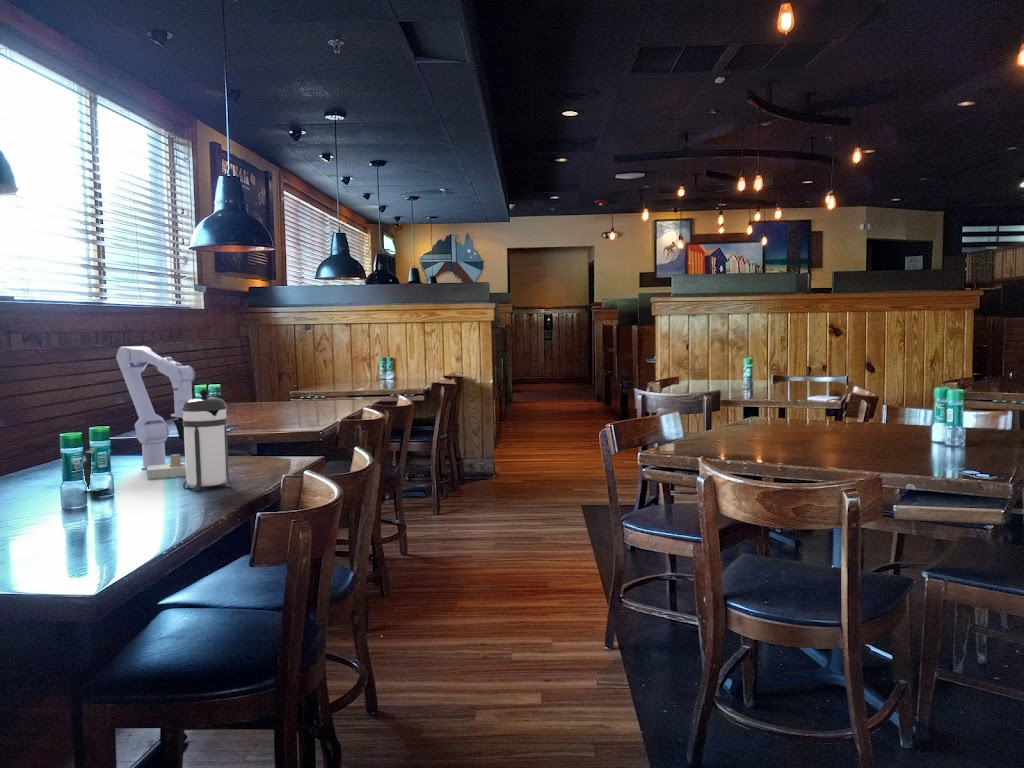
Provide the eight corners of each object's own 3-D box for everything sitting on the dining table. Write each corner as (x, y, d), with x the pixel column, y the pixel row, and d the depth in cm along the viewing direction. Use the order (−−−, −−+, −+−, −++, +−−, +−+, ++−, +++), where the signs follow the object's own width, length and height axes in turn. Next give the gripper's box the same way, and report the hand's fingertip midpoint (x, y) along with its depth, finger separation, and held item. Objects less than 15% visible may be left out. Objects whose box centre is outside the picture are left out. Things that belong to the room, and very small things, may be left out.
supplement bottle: (84, 489, 231) (82, 450, 230) (109, 486, 234) (107, 448, 233) (82, 493, 224) (80, 453, 224) (108, 490, 227) (106, 451, 226)
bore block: (147, 474, 254) (147, 465, 254) (205, 469, 262) (205, 460, 261) (147, 479, 245) (147, 470, 245) (207, 474, 252) (206, 465, 252)
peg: (171, 472, 254) (170, 454, 253) (181, 471, 255) (180, 454, 255) (171, 473, 251) (170, 456, 251) (181, 473, 252) (180, 455, 252)
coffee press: (244, 482, 237) (240, 387, 235) (219, 493, 221) (215, 391, 219) (191, 482, 239) (187, 387, 237) (163, 492, 223) (158, 391, 221)
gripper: (167, 400, 263) (169, 439, 264) (174, 403, 251) (176, 443, 252) (188, 399, 267) (190, 437, 268) (196, 401, 255) (198, 441, 256)
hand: (185, 440), depth 260 cm, fingers open, 7 cm apart
